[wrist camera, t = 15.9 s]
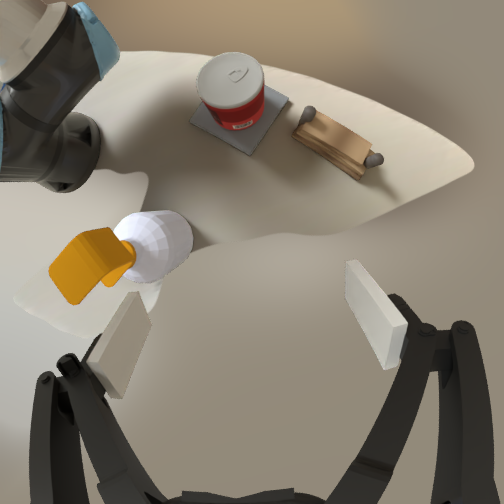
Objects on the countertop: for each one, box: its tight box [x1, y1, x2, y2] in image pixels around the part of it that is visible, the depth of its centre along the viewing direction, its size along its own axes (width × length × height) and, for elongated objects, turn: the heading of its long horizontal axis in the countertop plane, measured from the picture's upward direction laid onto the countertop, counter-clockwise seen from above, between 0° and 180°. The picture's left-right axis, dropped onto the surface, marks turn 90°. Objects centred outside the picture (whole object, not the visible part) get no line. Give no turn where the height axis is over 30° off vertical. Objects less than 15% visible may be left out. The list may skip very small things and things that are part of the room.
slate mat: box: [189, 85, 289, 156], centre depth 38 cm, size 11×11×1 cm
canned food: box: [196, 52, 264, 130], centre depth 32 cm, size 8×8×11 cm
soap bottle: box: [49, 210, 193, 305], centre depth 30 cm, size 9×9×25 cm
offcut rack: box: [292, 106, 384, 180], centre depth 35 cm, size 12×5×7 cm, turn 58°
